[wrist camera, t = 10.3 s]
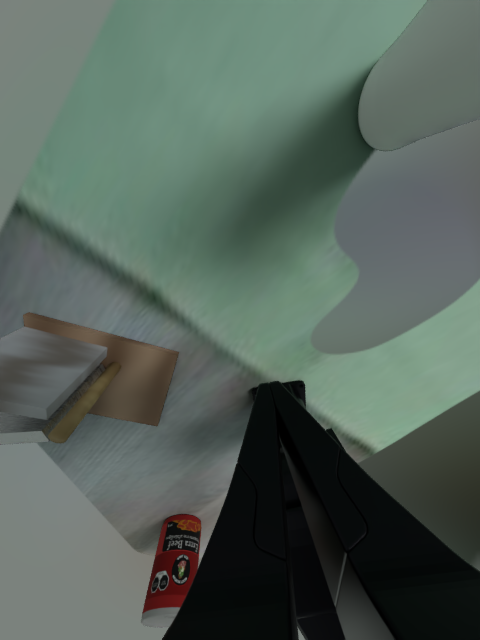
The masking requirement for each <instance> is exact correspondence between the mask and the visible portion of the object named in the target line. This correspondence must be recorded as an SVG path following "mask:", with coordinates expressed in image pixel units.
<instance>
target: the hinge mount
mask: <svg viewBox="0 0 480 640" xmlns="http://www.w3.org/2000/svg"><path fill="white" fill-rule="evenodd" d="M23 319H24V327H22V328H20V329H18V330H16V331H14V332H12V333H10V334H8V335H6V336H4V337H2V338H0V412H4V413H10V414H15V415H21V416H27V417H32V418H38V419H44V420H47V419H48V418H49V417H50V416H51V415H52V414H53V413H54V412H55V411H56V410H57V409H58V408H59V407H60V406H61V405H62V404H63V402H64V401H65V400H66V399H67V398H68V397H69V396H70V395H71V394H72V393H73V392H74V391H75V390H76V389H77V388H78V386H79V385H80V384H81V383H82V382H83V381H84V380H85V379H86V378H87V377H88V376H89V375H90V374H91V373H92V372H93V370H94V369H95V368H96V367H97V366H98V365H99V364H103V366H104V368H105V370H104V371H103V372H102V373H101V375H100V376H99V377H98V378H97V379H96V380H95V382H94V383H93V384H92V385H91V386H90V387H89V388H88V390H87V391H86V392H85V393H84V394H83V395H82V397H81V398H80V399H79V400H78V401H77V402H76V403H75V405H74V406H73V407H72V408H71V409H70V410H69V412H68V413H67V414H66V415H65V416H64V417H63V419H62V420H61V421H60V422H59V423H58V424H57V425H56V427H55V428H54V429H53V430H52V431H51V432H50V434H49V435H48V438H49V439H50V440H51V441H52V442H55V443H64V442H66V440H67V439H68V438H69V436H70V435H71V434H72V432H73V431H74V430H75V429H76V427H77V426H78V425H79V423H80V422H81V421H82V419H83V418H84V417H85V415H86V414H87V413H89V414H95V415H100V416H105V417H111V418H116V419H121V420H126V421H132V422H137V423H142V424H148V425H153V426H158V423H159V420H160V416H161V413H162V410H163V406H164V403H165V399H166V396H167V392H168V389H169V385H170V382H171V378H172V375H173V372H174V368H175V365H176V361H177V358H178V354H179V352H176V351H172V350H169V349H165V348H161V347H157V346H154V345H150V344H146V343H142V342H139V341H135V340H131V339H127V338H124V337H120V336H116V335H112V334H109V333H105V332H101V331H97V330H94V329H90V328H86V327H82V326H79V325H75V324H71V323H67V322H64V321H60V320H56V319H52V318H48V317H45V316H41V315H37V314H33V313H30V312H29V313H26V314H24V315H23Z"/></svg>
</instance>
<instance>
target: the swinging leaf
mask: <svg viewBox="0 0 480 640" xmlns="http://www.w3.org/2000/svg"><path fill="white" fill-rule="evenodd" d="M104 370H105V368H104V366H103V364H99V365H98V366H97V367H96V368H95V369H94V370H93V372H92V373H91V374H90V375H89V376H88V377H87V378H86V379H85V380H84V381H83V382H82V383H81V384H80V385H79V386H78V388H77V389H76V390H75V391H74V392H73V393H72V394H71V395H70V396H69V397H68V398H67V399H66V400H65V401H64V402H63V404H62V405H61V406H60V407H59V408H58V409H57V410H56V411H55V412H54V413H53V414H52V415H51V416H50V417H49V418H48V419H47V420H44V419H38V418H32V417H27V416H21V415H15V414H10V413H4V412H0V445H3V444H18V443H33V442H49V441H50V439H49V438H48V435H49V434H50V432H51V431H52V430H53V429H54V428H55V427H56V425H57V424H58V423H59V422H60V421H61V420H62V419H63V417H64V416H65V415H66V414H67V413H68V412H69V410H70V409H71V408H72V407H73V406H74V405H75V403H76V402H77V401H78V400H79V399H80V398H81V397H82V395H83V394H84V393H85V392H86V391H87V390H88V388H89V387H90V386H91V385H92V384H93V383H94V382H95V380H96V379H97V378H98V377H99V376H100V375H101V373H102V372H103V371H104Z"/></svg>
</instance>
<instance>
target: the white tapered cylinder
mask: <svg viewBox="0 0 480 640" xmlns="http://www.w3.org/2000/svg"><path fill="white" fill-rule="evenodd" d="M479 119H480V0H427V1H426V3H425V4H424V5H423V7H422V8H421V9H420V10H419V12H418V13H417V14H416V16H415V17H414V18H413V19H412V21H411V22H410V23H409V24H408V26H407V27H406V28H405V30H404V31H403V32H402V33H401V35H400V36H399V37H398V38H397V39H396V40H395V41H394V42H393V44H392V45H391V46H390V47H389V48H388V49H387V50H386V51H385V53H384V54H383V55H382V56H381V57H380V59H379V60H378V61H377V63H376V64H375V65H374V67H373V69H372V70H371V72H370V74H369V76H368V78H367V80H366V82H365V84H364V87H363V90H362V93H361V96H360V101H359V107H358V122H359V128H360V131H361V134H362V136H363V138H364V140H365V141H366V142H367V143H368V144H369V145H370V146H371V147H372V148H374V149H377V150H380V151H392V150H396V149H400V148H402V147H404V146H407V145H409V144H411V143H413V142H416V141H418V140H420V139H423V138H426V137H429V136H432V135H435V134H437V133H441V132H444V131H446V130H449V129H452V128H455V127H458V126H461V125H464V124H467V123H470V122H473V121H476V120H479Z"/></svg>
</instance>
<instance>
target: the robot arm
mask: <svg viewBox="0 0 480 640" xmlns="http://www.w3.org/2000/svg"><path fill="white" fill-rule="evenodd" d="M252 394H253V400H254V404H253V408H252V411H251V415H250V418H249V422H248V425H247V429H246V432H245V436H244V439H243V443H242V446H241V450H240V454H239V457H238V461H237V462H238V463H237V464H236V467H235V471H234V474H233V478H232V481H231V484H230V487H229V490H228V493H227V496H226V499H225V502H224V504H223V507H222V510H221V512H220V515H219V518H218V520H217V523H216V525H215V528H214V530H213V533H212V535H211V538H210V540H209V543H208V545H207V548H206V550H205V553H204V555H203V558H202V560H201V563H200V565H199V568H198V570H197V572H196V575H195V577H194V580H193V582H192V584H191V586H190V589H189V591H188V593H187V595H186V597H185V599H184V601H183V603H182V605H181V607H180V609H179V611H178V613H177V615H176V617H175V618H174V620H173V622H172V624H171V625H170V627H169V628H168V630H167V632H166V633H165V635H164V637H163V638H162V640H299V639H298V629H297V626H298V628H299V630H300V631H301V633H302V635H303V636H304V638H305V640H480V571H479V570H477V569H476V568H475V567H473V566H472V565H470V564H469V563H468V562H466V561H465V560H464V559H463V558H461V557H460V556H459V555H458V554H456V553H455V552H454V551H453V550H452V549H450V548H449V547H448V546H447V545H446V544H445V543H444V542H442V541H441V540H440V539H439V538H438V537H437V536H436V535H434V534H433V533H432V532H431V531H430V530H429V529H428V528H427V527H426V526H424V525H423V524H422V523H421V522H420V521H419V520H418V519H417V518H416V517H414V516H413V515H412V514H411V513H410V512H409V511H408V510H407V509H405V508H404V507H403V506H402V505H401V504H400V503H399V502H398V501H396V500H395V499H394V498H393V497H392V496H391V495H390V494H389V493H388V492H386V491H385V490H384V489H383V488H382V487H381V486H380V485H379V484H378V483H377V482H376V481H375V480H373V479H372V478H371V477H370V476H369V475H368V474H367V473H366V472H365V471H364V470H363V469H362V468H361V467H360V466H359V465H358V464H357V463H356V462H355V461H354V460H353V459H352V458H351V457H350V456H349V455H348V454H347V452H346V451H345V449H344V448H343V446H342V445H341V443H340V441H339V440H338V438H337V436H336V435H335V433H334V431H333V430H332V428H330V429H326V430H325V429H324V428H323V427H322V426H321V425H320V424H319V423H318V422H317V421H316V420H315V419H314V418H313V417H312V416H311V415H310V413H309V412H308V411H307V410H306V400H305V384H304V382H303V381H295V382H289V383H282V384H281V383H280V382H279V381H274V382H270V383H261V384H259V387H257V388H254V389H253V390H252Z"/></svg>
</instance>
